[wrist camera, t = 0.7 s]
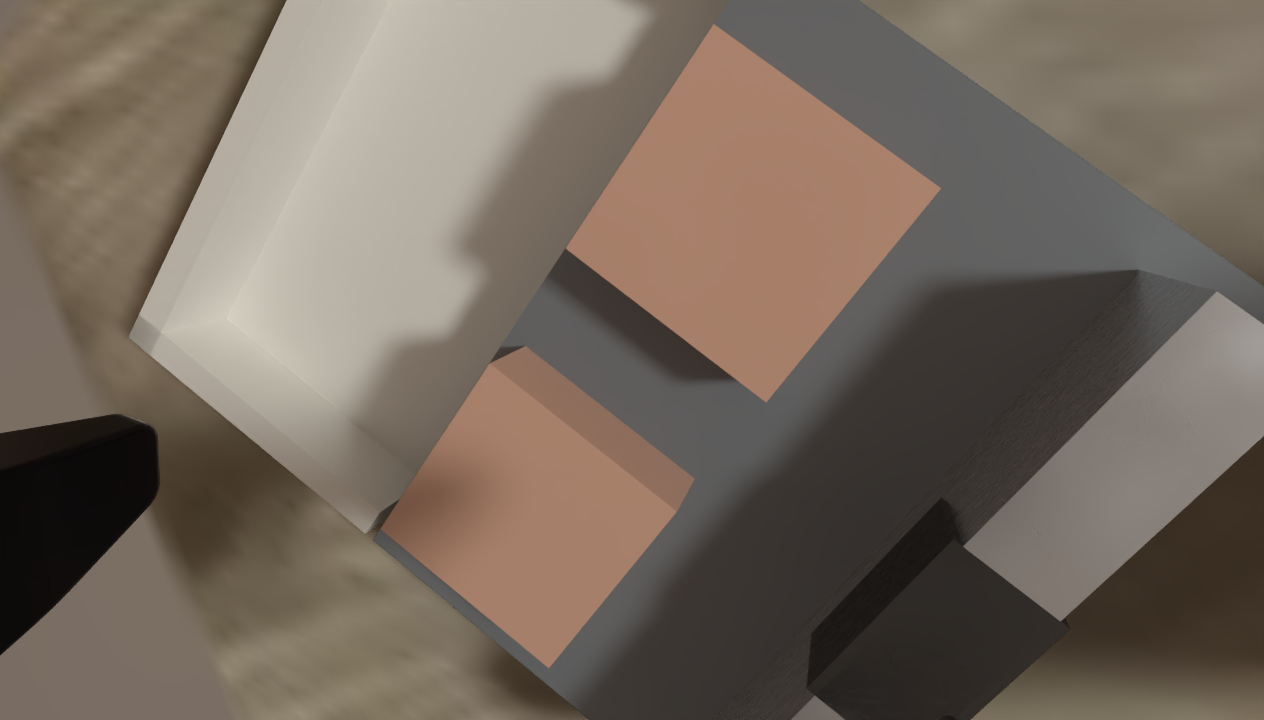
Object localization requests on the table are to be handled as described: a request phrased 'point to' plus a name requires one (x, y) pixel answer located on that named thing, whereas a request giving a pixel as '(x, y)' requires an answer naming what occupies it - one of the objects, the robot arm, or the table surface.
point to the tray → (398, 216)
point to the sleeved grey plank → (1031, 515)
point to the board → (835, 369)
